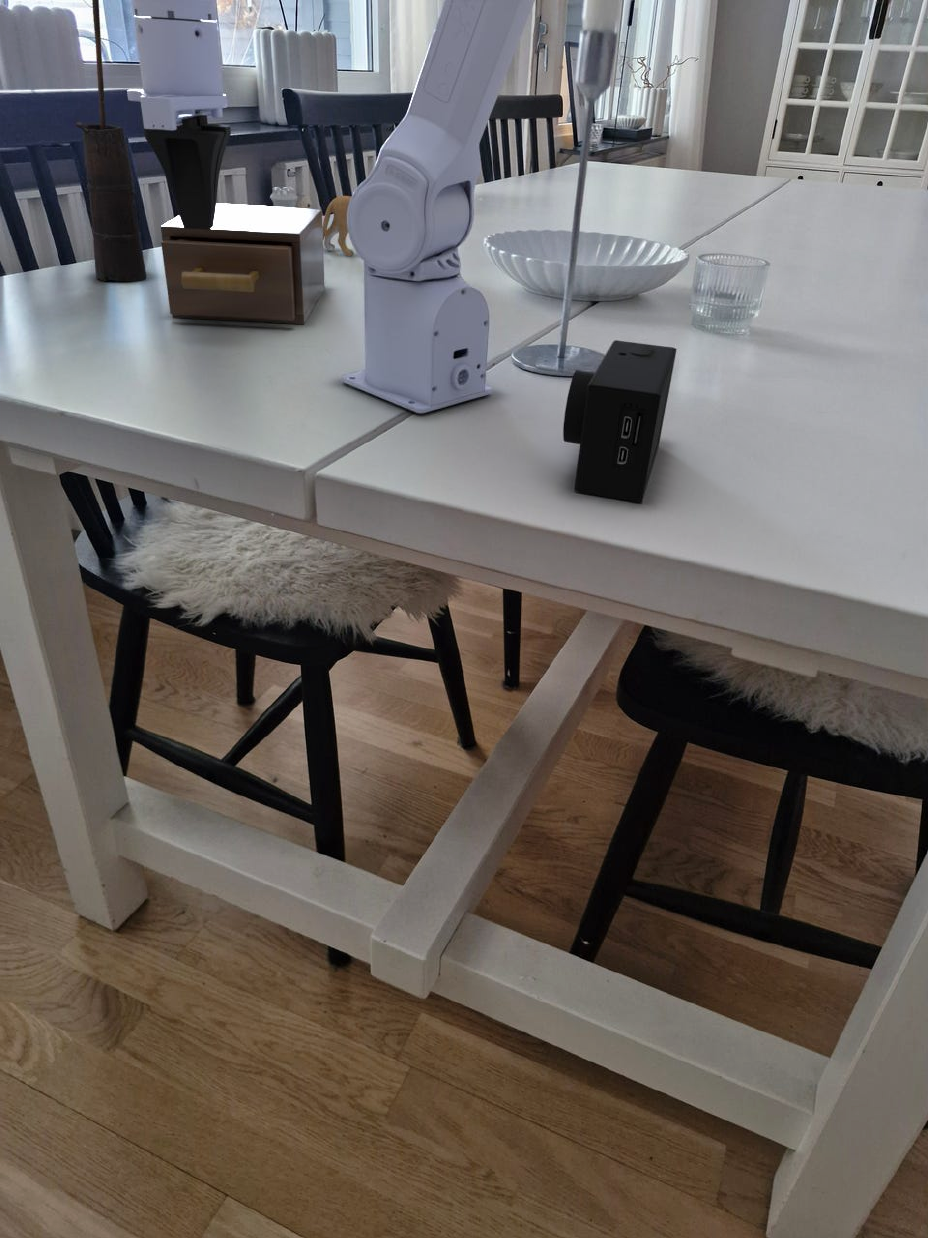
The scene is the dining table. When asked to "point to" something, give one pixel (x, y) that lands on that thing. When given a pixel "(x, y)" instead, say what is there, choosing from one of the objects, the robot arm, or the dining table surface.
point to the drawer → (229, 278)
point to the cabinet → (275, 227)
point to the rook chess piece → (283, 197)
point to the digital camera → (619, 419)
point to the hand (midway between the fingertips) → (198, 227)
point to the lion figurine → (337, 224)
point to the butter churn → (111, 191)
